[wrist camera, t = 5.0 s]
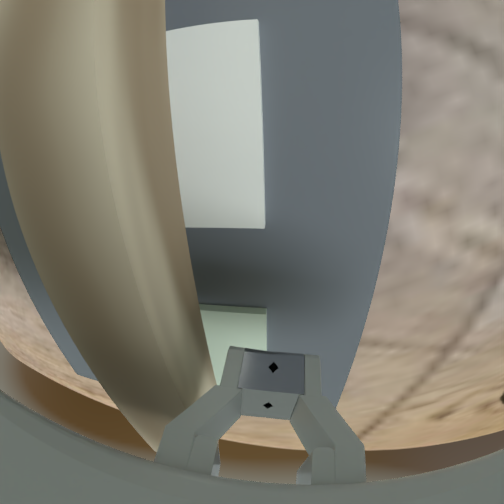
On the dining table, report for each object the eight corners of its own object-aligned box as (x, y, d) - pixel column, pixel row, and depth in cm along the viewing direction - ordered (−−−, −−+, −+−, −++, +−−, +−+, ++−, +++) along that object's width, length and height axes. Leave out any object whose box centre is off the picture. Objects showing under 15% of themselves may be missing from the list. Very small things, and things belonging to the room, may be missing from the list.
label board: (364, -96, 4) (384, -138, 1) (333, 394, 18) (335, 440, 15) (-6, 5, 6) (-50, 8, 3) (84, 361, 21) (66, 394, 18)
